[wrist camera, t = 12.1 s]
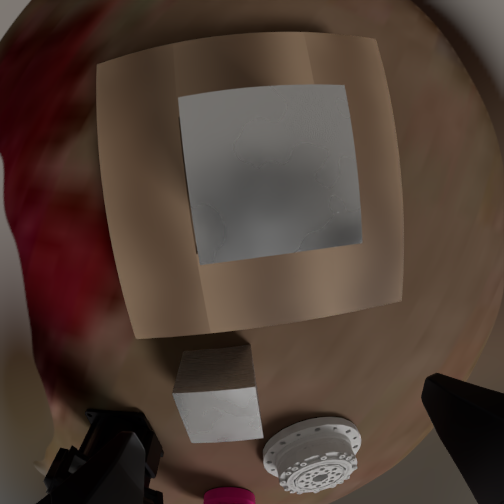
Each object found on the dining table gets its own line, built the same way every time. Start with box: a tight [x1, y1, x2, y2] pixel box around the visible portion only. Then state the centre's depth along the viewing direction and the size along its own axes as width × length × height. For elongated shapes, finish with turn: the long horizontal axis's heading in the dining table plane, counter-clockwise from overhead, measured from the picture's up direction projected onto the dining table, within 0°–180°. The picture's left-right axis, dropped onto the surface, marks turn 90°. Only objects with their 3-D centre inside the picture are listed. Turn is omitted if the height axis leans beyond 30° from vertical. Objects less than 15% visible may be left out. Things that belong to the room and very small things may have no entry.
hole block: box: [96, 32, 404, 339], centre depth 16 cm, size 16×16×4 cm
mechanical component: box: [263, 417, 361, 494], centre depth 22 cm, size 10×4×10 cm
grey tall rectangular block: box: [178, 84, 362, 265], centre depth 13 cm, size 5×5×10 cm
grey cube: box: [172, 345, 263, 443], centre depth 18 cm, size 5×5×5 cm
